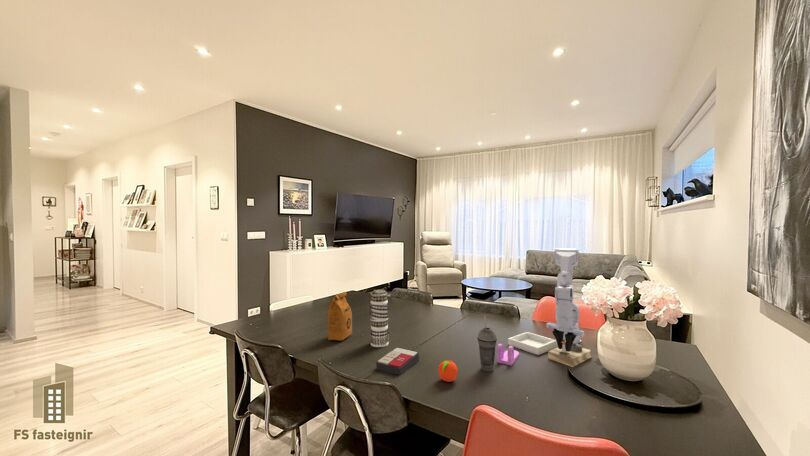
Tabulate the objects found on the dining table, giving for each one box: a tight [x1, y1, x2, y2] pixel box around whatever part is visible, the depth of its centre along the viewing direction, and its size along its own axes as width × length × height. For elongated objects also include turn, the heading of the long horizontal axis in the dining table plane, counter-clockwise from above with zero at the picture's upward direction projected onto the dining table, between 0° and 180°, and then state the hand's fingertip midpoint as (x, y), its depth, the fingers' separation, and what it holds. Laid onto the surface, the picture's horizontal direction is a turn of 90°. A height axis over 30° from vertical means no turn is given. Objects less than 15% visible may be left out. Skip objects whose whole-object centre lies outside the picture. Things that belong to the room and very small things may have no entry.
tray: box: [507, 331, 558, 356], centre depth 147 cm, size 15×15×3 cm
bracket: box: [496, 343, 520, 366], centre depth 133 cm, size 13×6×7 cm, turn 145°
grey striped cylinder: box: [368, 289, 390, 348], centre depth 152 cm, size 9×9×25 cm
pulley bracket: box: [547, 342, 592, 368], centre depth 133 cm, size 15×10×6 cm, turn 126°
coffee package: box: [327, 291, 353, 342], centre depth 160 cm, size 10×12×22 cm
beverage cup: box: [477, 315, 497, 372], centre depth 124 cm, size 7×7×20 cm
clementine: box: [437, 359, 459, 383], centre depth 114 cm, size 8×7×7 cm
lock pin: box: [561, 340, 567, 355], centre depth 130 cm, size 3×3×8 cm
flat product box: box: [375, 347, 420, 376], centre depth 128 cm, size 11×4×15 cm
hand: (564, 349), depth 130 cm, fingers closed on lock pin, 3 cm apart
